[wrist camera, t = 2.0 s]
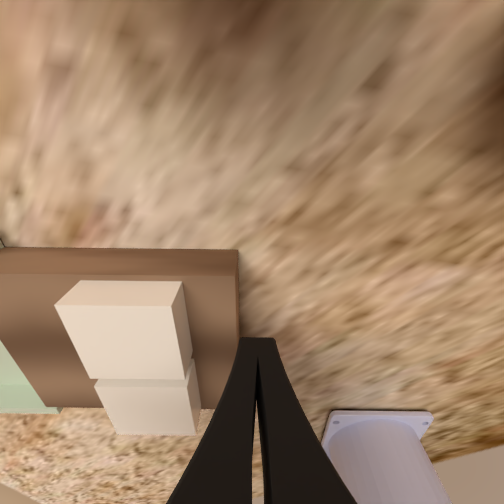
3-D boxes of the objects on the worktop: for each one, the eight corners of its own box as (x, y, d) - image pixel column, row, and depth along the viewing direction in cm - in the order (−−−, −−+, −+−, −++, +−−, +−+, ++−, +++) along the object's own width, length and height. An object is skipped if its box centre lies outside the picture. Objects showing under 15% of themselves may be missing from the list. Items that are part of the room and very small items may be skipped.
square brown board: (240, 373, 17) (238, 409, 15) (71, 372, 17) (46, 407, 15) (237, 249, 13) (234, 276, 10) (4, 247, 13) (-47, 273, 10)
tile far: (201, 406, 15) (195, 435, 14) (130, 405, 15) (117, 434, 14) (193, 358, 13) (186, 387, 12) (111, 357, 13) (94, 386, 12)
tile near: (192, 350, 13) (185, 379, 11) (108, 349, 13) (90, 378, 11) (181, 281, 11) (171, 306, 9) (80, 280, 11) (54, 304, 9)
